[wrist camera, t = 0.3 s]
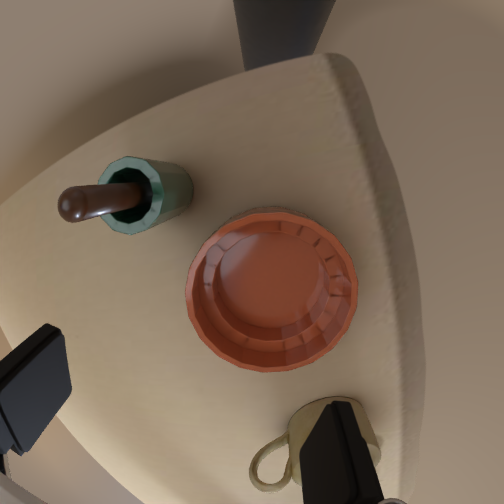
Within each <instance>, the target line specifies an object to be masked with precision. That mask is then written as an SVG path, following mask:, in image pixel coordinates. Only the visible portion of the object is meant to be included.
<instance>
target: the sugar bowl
mask: <svg viewBox="0 0 504 504" xmlns="http://www.w3.org/2000/svg"><path fill="white" fill-rule="evenodd" d="M334 400H336V401H348V402H350V403H351V405H352V408H353V411H354V414H355V417H356V420H357V423H358V426H359V429H360V432H361V435H362V437H363V438H364V439H365V440H366V442H367V445H368V448H369V451H370V455H371V458H372V461H373V464H374V467H376V466H377V465H378V463H379V461H380V459H381V451H380V448H379V445H378V442H377V439H376V437H375V434H374V431H373V429H372V427H371V424H370V422H369V420H368V418H367V415H366V413H365V411H364V409H363V407H362V406H361V404H359V403H358V402H357V401H355V400H353V399H350V398H345V397H330V398H324V399H321V400H317V401H314V402H312V403H310V404H308V405H306V406H304V407H303V408H301V409H300V410H298V411H297V412H296V413H295V414H294V415H293V417H292V418H291V420H290V422H289V424H288V430H287V431H286V432H285V433H284V434H283V435H282V436H281V437H279V438H277V439H275V440H274V441H272V442H270V443H268V444H267V445H265V446H264V447H263V448H262V449H260V450H259V451H258V452H257V454H256V455H255V456H254V458H253V460H252V462H251V464H250V468H249V477H250V480H251V482H252V484H253V485H254V486H255V487H256V488H257V489H258V490H260V491H262V492H266V493H274V492H278V491H280V490H282V489H283V488H284V487H285V486H286V485H287V484H288V483H289V481H290V479H291V476H292V479H293V480H294V482H295V483H297V484H298V485H299V486H302V481H301V471H300V461H299V452H300V449H301V447H302V445H303V444H304V442H305V441H306V439H307V437H308V436H309V434H310V432H311V431H312V429H313V427H314V425H315V424H316V422H317V420H318V418H319V417H320V415H321V413H322V411H323V410H324V408H325V406H326V405H327V404H331V402H332V401H334ZM287 443H288V444H289V459H288V461H287V464H286V468H285V472H284V476H283V478H282V479H281V480H280V481H279V482H277V483H274V484H267V483H264V482H262V481H261V480H259V478H258V476H257V469H258V466H259V464H260V462H261V461H262V460H263V459H264V458H265V457H266V456H267V455H268V454H270V453H271V452H273V451H274V450H276V449H278V448H280V447H282V446H284V445H286V444H287ZM375 470H376V469H375Z"/></svg>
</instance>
